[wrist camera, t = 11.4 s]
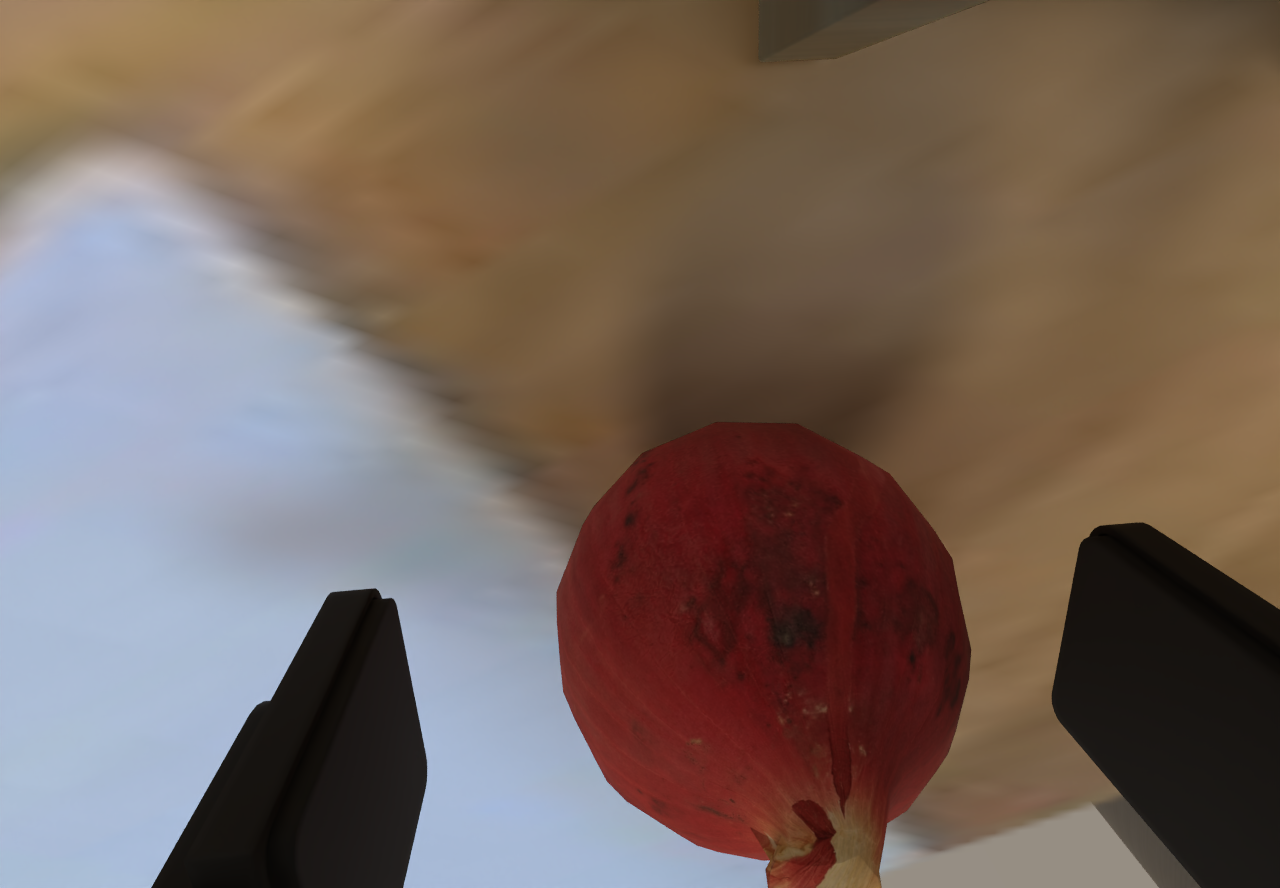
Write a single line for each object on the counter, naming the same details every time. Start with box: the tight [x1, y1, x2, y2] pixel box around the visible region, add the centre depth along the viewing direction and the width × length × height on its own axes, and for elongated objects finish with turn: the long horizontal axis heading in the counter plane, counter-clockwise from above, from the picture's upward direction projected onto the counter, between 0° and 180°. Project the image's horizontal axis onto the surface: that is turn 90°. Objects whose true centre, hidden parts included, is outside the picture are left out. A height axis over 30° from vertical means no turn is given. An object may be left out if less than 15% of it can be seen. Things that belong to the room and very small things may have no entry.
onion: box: [557, 422, 971, 888], centre depth 11 cm, size 6×6×8 cm
